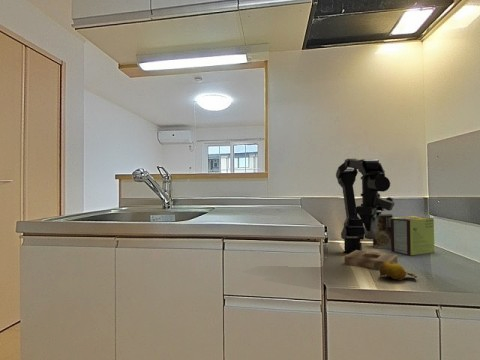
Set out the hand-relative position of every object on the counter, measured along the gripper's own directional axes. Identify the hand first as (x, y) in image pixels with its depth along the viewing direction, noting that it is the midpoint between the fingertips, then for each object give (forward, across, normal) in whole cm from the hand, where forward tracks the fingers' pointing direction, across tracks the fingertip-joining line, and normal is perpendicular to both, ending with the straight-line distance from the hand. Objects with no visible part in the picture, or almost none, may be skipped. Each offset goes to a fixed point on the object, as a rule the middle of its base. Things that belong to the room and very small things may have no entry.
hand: (370, 230), depth 121 cm
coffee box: (+13, +34, +4) cm, 37 cm away
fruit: (+14, -14, -13) cm, 24 cm away
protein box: (+13, +32, -9) cm, 36 cm away
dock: (+13, 0, 0) cm, 13 cm away
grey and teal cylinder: (+3, 0, 0) cm, 3 cm away
